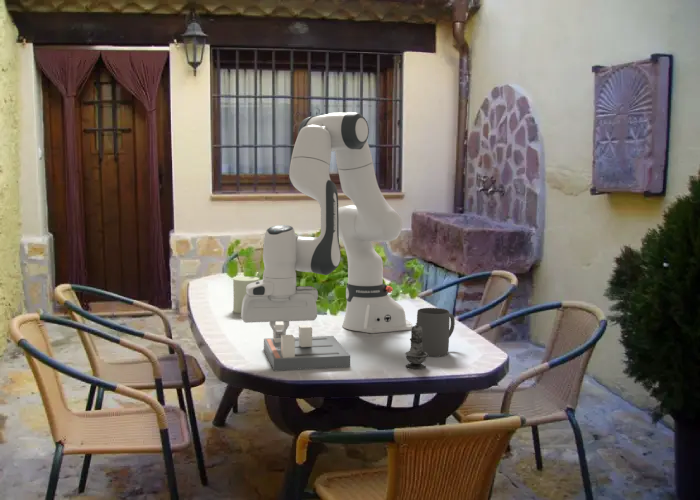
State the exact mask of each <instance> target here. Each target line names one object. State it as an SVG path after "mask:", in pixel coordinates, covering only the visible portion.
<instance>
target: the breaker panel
mask: <svg viewBox="0 0 700 500" xmlns="http://www.w3.org/2000/svg"><path fill="white" fill-rule="evenodd" d="M273 326H274V325H273ZM283 327H284V324H283V321H281V322H276V325H275V326H274V328H275V329H276V330H282V329H283ZM286 332H287V330H286V331H285V335H281V338H274V336H273V335H272V337H270V338H263V350H264V353H265V355H266V356H267V359H268V361H269V363H270V366H271V365H272V366H271V368H272V367H273V368H272V370H273V371H274V370H280V371H296V370H297V371H298V370H313V369H314V370H315V369H316V370H317V369H334V368H339V369H340V368H350V367H351V355H350V354H349V352H348V351H347V350H346V349H345V348H344V347H343V346H342V345H341V343H340V342H339V341H338V339H336V337H335V336H334V335H321V336H320V335H319V336H318V335H317V336H312V347H301V346H300V345H299V336H298V337H297V336H295V337H294V335H293V334H287V333H286Z"/></svg>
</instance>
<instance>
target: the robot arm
mask: <svg viewBox="0 0 700 500" xmlns="http://www.w3.org/2000/svg"><path fill="white" fill-rule="evenodd" d="M369 128H370V127H369V124H368V121H367V119H366V118H365V116H364V115H362V114H361V113H358V112H354V111H353V112H352V111H348V112H330V113H327V114H320V115H312V116H308V117H307V118H304V119H303V120H302V121H301V122H300V124H299V127H298V131H297V137H296V140H295V143H294V147H293V150H292V154H291V159H290V164H289V172H288V173H289V176H288V177H289V180H290V182H291V184H292V186H293V187H294V188H295V189H296V190H297V191H299V192H300V193H302V194H303V195H305V196H307V197H309V198H311V199H313V200H315V201H317V203H318V204H319V207H320V235H319V236H317V237H314V236H302V235H299V234H296V232H295V228H294V227H293V226H292V225H287V224H286V225H285V224H280V225H273V226H271V227H269V228H267V229H266V230H265V233H264V240H263V247H262V248H263V249H262V261H263V265H264V269H263V274H262V279H259V281H257V282H253V283H250V284H248V285H247V286H246V292H247V294H246V295H245V296H244V298H243V302H242V310H241V313H240V315H241V316H240V318H241V320H242V321H243V323H245V324H246V323H269V326H270V328H271V330H272V337H273V336H274V338H281V335H285V331H286V332H287V329H288V328H289V326H290V322H305V321H307V322H308V321H309V322H310V321H315V320H316V319H317V318H318V308H317V301H318V299H319V292H318V290H317V288H316V287H313V286H311V285H307V286H304V285H299V286H298V285H297V272H296V271H298V272H304V273H305V272H307V273H314V274H319V275H323V276H327V275H330V274H331V273H333V271H335V270H336V269H337V268H338V267H339V265H340V263H341V255H342V254H341V246H340V241H341V242H342V244H343V247H344V249H345V253H346V257H347V278H348V279H347V283H346V288H345V298H346V299H345V300H346V307H345V308H346V309H345V315H344V319H343V322H342V325H341V326H342V328H344V329H347V330H350V331H356V332H363V333H367V334H376V333H378V334H379V333H388V332H397V331H398V332H399V331H411V329H412V327H413V323H412V322H411V321H410V320H407V319H406V312H405V309H404V307H403V306H402V305H401V304H400V303H399V302H397V300H395V299H394V298H392V297H391V296H390V295H389V294H391V293H392V292H393V290H394V289H393V287H392V286H390V285H387V284H385V283H383V279H384V278H383V274H384V267H383V266H384V262H383V258H382V257H381V255H380V254H378V252H376V249H375V248H374V245H373V242H374V243H375V242H376V243H385V242H392V241H395V240H397V239H398V237H399V236H400V234H401V232H402V230H403V229H402V228H403V221H402V217H401V215H400V214H399V212H398V211H396V210H395V209H394V208H393V207H392V206H391V204H389V203H388V201H387V200H386V199H385V196H384V195H383V193H382V191H381V189H380V187H379V184H378V180H377V176H376V172H375V165H374V161H373V157H372V152H371V149H370V145H369V143H368V139H369V133H370V129H369ZM332 152H335V161H336V165H337V166H336V167H337V171H338V175H339V176H338V177H339V182H340V188H341V191H342V193H343V194H344V196H346V198H348V199H350V200H351V202H352V203H353V204H350V205H344V206H340V207H339V194H338V189H337V188H338V187H337V186H336V183H335V182H333V181H332V180H331V177H330V167H331V158H332V157H331V156H332ZM281 321H283V324H284V327H283V329H282V330H276V329H275V328H274V326H275V325H276V322H281ZM273 325H274V326H273Z"/></svg>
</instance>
